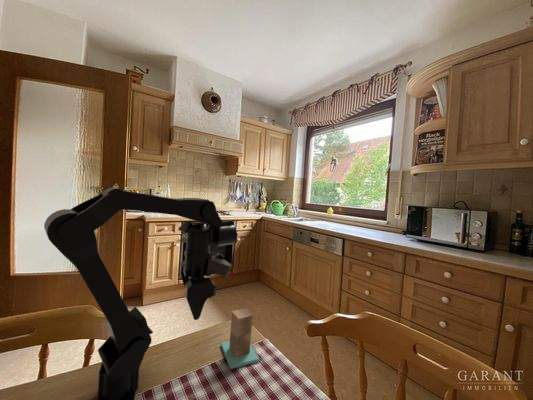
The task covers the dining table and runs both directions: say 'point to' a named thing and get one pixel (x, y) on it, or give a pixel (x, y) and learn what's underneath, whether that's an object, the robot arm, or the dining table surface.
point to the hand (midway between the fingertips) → (193, 309)
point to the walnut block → (240, 332)
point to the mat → (240, 360)
